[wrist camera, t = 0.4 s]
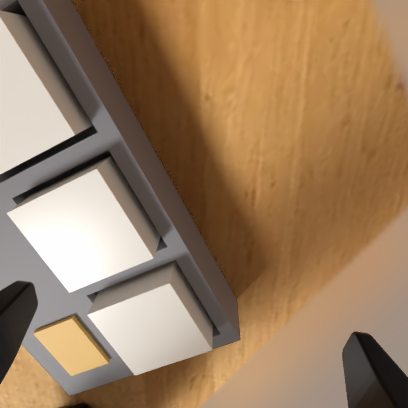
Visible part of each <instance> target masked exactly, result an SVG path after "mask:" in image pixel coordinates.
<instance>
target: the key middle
mask: <svg viewBox="0 0 408 408" xmlns="http://www.w3.org/2000/svg"><path fill="white" fill-rule="evenodd" d="M7 215H8V216H9V217H10V218H11V220H12V221H13V222H14V223H15V225H16V226H17V227H18V228H19V230H20V231H21V232H22V233H23V235H24V236H25V237H26V239H27V240H28V241H29V242H30V244H31V245H32V246H33V247H34V249H35V250H36V251H37V252H38V254H39V255H40V256H41V257H42V259H43V260H44V261H45V263H46V264H47V265H48V266H49V268H50V269H51V270H52V271H53V273H54V274H55V275H56V276H57V278H58V279H59V280H60V281H61V283H62V284H63V285H64V287H65V288H66V289H67V290H68V292H69V293H70V292H73V291H75V290H78V289H80V288H82V287H85V286H87V285H90V284H92V283H95V282H97V281H100V280H102V279H105V278H107V277H109V276H112V275H114V274H117V273H119V272H122V271H124V270H127V269H129V268H132V267H134V266H136V265H139V264H141V263H144V262H146V261H149V260H151V259H154V256H155V253H156V250H157V247H158V243H159V240H160V237H161V235H160V234H159V232H158V230H157V229H156V227H155V225H154V224H153V222H152V221H151V219H150V217H149V216H148V214H147V212H146V211H145V209H144V207H143V206H142V204H141V202H140V201H139V199H138V198H137V196H136V194H135V193H134V191H133V189H132V188H131V186H130V184H129V183H128V181H127V179H126V178H125V176H124V175H123V173H122V171H121V170H120V168H119V166H118V165H117V163H116V161H115V160H114V158H113V156H112V155H110V156H108V157H106V158H104V159H102V160H100V161H98V162H96V163H94V164H92V165H90V166H88V167H86V168H84V169H82V170H80V171H78V172H76V173H74V174H72V175H70V176H68V177H66V178H64V179H62V180H60V181H58V182H56V183H54V184H52V185H50V186H48V187H46V188H44V189H42V190H40V191H38V192H36V193H34V194H32V195H30V196H29V197H28V198H26V199H25V200H24V201H22V202H21V203H20V204H18V205H17V206H15V207H14V208H13V209H11V210H10V211H9V212H7Z"/></svg>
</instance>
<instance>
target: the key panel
mask: <svg viewBox="0 0 408 408" xmlns="http://www.w3.org/2000/svg"><path fill="white" fill-rule="evenodd" d="M0 10H1V11H5V12H10V13H14V14H19V15H23V16H27V17H28V18H29V20H30V22H31V23H32V25H33V27H34V28H35V30H36V31H37V33H38V35H39V36H40V38H41V40H42V41H43V43H44V45H45V46H46V48H47V50H48V51H49V53H50V54H51V56H52V58H53V59H54V61H55V63H56V64H57V66H58V68H59V69H60V71H61V73H62V74H63V76H64V77H65V79H66V81H67V82H68V84H69V86H70V87H71V89H72V91H73V92H74V94H75V96H76V97H77V99H78V101H79V102H80V104H81V105H82V107H83V109H84V110H85V112H86V114H87V115H88V117H89V119H90V120H91V122H92V124H93V126H91V127H89V128H87V129H85V130H84V131H82V132H80V133H78V134H76V135H74V136H72V137H71V138H69V139H67V140H65V141H63V142H61V143H59V144H57V145H55V146H53V147H51V148H50V149H48V150H46V151H44V152H42V153H40V154H38V155H36V156H34V157H32V158H31V159H29V160H27V161H25V162H23V163H21V164H19V165H17V166H15V167H13V168H12V169H10V170H8V171H6V172H4V173H2V174H0V290H2V289H4V288H5V287H7V286H8V285H10V284H12V283H13V282H15V281H18V280H22V281H28V282H32V283H33V284H34V286H35V291H36V295H37V299H38V307H37V310H36V313H35V315H34V317H33V319H32V321H31V324H30V326H29V328H28V330H27V333H26V335H25V337H24V339H23V341H22V345H23V347H24V348H25V349H26V350H27V351H28V352H29V353H30V354H31V355H32V356H33V357H34V358H35V359H36V360H37V362H38V363H39V364H40V365H41V366H42V367H43V368H44V369H45V370H46V371H47V372H48V373H49V374H50V375H51V377H52V378H53V379H54V380H55V381H56V382H57V383H58V384H59V385H60V386H61V387H62V388H63V389H64V391H65V392H66V393H67V394H68V395H69V396H71V395H74V394H77V393H80V392H83V391H87V390H90V389H93V388H96V387H99V386H102V385H105V384H108V383H111V382H114V381H117V380H120V379H123V378H126V377H129V376H132V375H134V374H133V372H132V371H131V370H130V369H129V367H128V366H127V365H126V364H125V362H124V361H123V360H122V359H121V357H120V356H119V355H118V353H117V352H116V351H115V350H114V348H113V347H112V346H111V345H110V343H109V342H108V341H107V340H106V338H105V337H104V336H103V335H102V333H101V332H100V331H99V329H98V328H97V327H96V326H95V324H94V323H93V322H92V321H91V319H90V318H89V317H88V316H87V314H88V312H89V310H90V308H91V306H92V304H93V302H94V300H95V298H96V296H97V294H98V292H99V291H100V290H102V289H105V288H107V287H110V286H112V285H115V284H117V283H120V282H122V281H125V280H127V279H130V278H132V277H135V276H137V275H140V274H142V273H145V272H147V271H150V270H152V269H155V268H157V267H160V266H162V265H165V264H167V263H170V262H172V261H175V260H176V262H177V263H178V265H179V267H180V268H181V270H182V272H183V273H184V275H185V276H186V278H187V280H188V281H189V283H190V285H191V286H192V288H193V290H194V291H195V293H196V295H197V296H198V298H199V299H200V301H201V303H202V304H203V306H204V308H205V309H206V311H207V313H208V314H209V316H210V318H211V319H212V321H213V339H212V349H214V348H217V347H221V346H224V345H227V344H230V343H233V342H236V341H239V340H240V328H239V317H238V305H237V299H236V297H235V295H234V293H233V292H232V290H231V288H230V286H229V284H228V283H227V281H226V279H225V277H224V275H223V274H222V272H221V270H220V268H219V266H218V264H217V263H216V261H215V259H214V257H213V255H212V254H211V252H210V250H209V248H208V246H207V245H206V243H205V241H204V239H203V237H202V236H201V234H200V232H199V230H198V228H197V227H196V225H195V223H194V221H193V219H192V217H191V216H190V214H189V212H188V210H187V208H186V207H185V205H184V203H183V201H182V199H181V198H180V196H179V194H178V192H177V190H176V189H175V187H174V185H173V183H172V181H171V179H170V178H169V176H168V174H167V172H166V170H165V169H164V167H163V165H162V163H161V161H160V160H159V158H158V156H157V154H156V152H155V151H154V149H153V147H152V145H151V143H150V142H149V140H148V138H147V136H146V134H145V132H144V131H143V129H142V127H141V125H140V123H139V122H138V120H137V118H136V116H135V114H134V113H133V111H132V109H131V107H130V105H129V104H128V102H127V100H126V98H125V96H124V95H123V93H122V91H121V89H120V87H119V85H118V84H117V82H116V80H115V78H114V76H113V75H112V73H111V71H110V69H109V67H108V66H107V64H106V62H105V60H104V58H103V57H102V55H101V53H100V51H99V49H98V48H97V46H96V44H95V42H94V40H93V38H92V37H91V35H90V33H89V31H88V29H87V28H86V26H85V24H84V22H83V20H82V19H81V17H80V15H79V13H78V11H77V10H76V8H75V6H74V4H73V2H72V0H0ZM110 155H112V156H113V158H114V160H115V161H116V163H117V165H118V166H119V168H120V170H121V171H122V173H123V175H124V176H125V178H126V179H127V181H128V183H129V184H130V186H131V188H132V189H133V191H134V193H135V194H136V196H137V198H138V199H139V201H140V202H141V204H142V206H143V207H144V209H145V211H146V212H147V214H148V216H149V217H150V219H151V221H152V222H153V224H154V225H155V227H156V229H157V230H158V232H159V234H160V235H161V237H160V240H159V243H158V247H157V250H156V253H155V256H154V259H151V260H149V261H146V262H144V263H141V264H139V265H136V266H134V267H132V268H129V269H127V270H124V271H122V272H119V273H117V274H114V275H112V276H109V277H107V278H105V279H102V280H100V281H97V282H95V283H92V284H90V285H87V286H85V287H82V288H80V289H78V290H75V291H73V292H70V293H69V292H68V290H67V289H66V288H65V287H64V285H63V284H62V283H61V281H60V280H59V279H58V278H57V276H56V275H55V274H54V273H53V271H52V270H51V269H50V268H49V266H48V265H47V264H46V263H45V261H44V260H43V259H42V257H41V256H40V255H39V254H38V252H37V251H36V250H35V249H34V247H33V246H32V245H31V244H30V242H29V241H28V240H27V239H26V237H25V236H24V235H23V233H22V232H21V231H20V230H19V228H18V227H17V226H16V225H15V223H14V222H13V221H12V220H11V218H10V217H9V216H8V215H7V212H9V211H10V210H11V209H13V208H14V207H15V206H17V205H18V204H20V203H21V202H22V201H24V200H25V199H26V198H28V197H29V196H30V195H32V194H34V193H36V192H38V191H40V190H42V189H44V188H46V187H48V186H50V185H52V184H54V183H56V182H58V181H60V180H62V179H64V178H66V177H68V176H70V175H72V174H74V173H76V172H78V171H80V170H82V169H84V168H86V167H88V166H90V165H92V164H94V163H96V162H98V161H100V160H102V159H104V158H106V157H108V156H110Z"/></svg>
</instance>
